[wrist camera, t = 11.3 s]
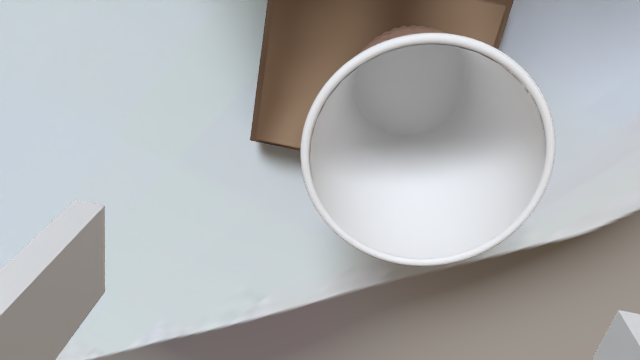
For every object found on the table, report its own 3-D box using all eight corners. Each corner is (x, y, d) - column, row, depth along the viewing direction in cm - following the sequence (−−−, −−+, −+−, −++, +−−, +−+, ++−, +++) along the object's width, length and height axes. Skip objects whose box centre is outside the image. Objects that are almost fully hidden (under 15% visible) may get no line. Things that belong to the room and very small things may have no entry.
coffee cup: (505, 147, 34) (563, 249, 24) (344, 174, 36) (330, 282, 26) (487, -25, 30) (547, 5, 20) (307, 17, 32) (271, 65, 22)
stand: (256, 128, 39) (247, 144, 36) (280, -53, 34) (271, -50, 31) (451, 168, 39) (457, 187, 36) (506, -9, 33) (517, -2, 31)
